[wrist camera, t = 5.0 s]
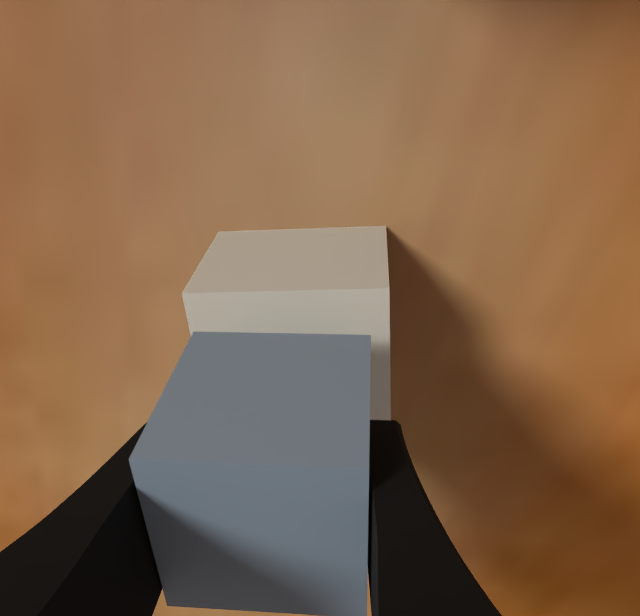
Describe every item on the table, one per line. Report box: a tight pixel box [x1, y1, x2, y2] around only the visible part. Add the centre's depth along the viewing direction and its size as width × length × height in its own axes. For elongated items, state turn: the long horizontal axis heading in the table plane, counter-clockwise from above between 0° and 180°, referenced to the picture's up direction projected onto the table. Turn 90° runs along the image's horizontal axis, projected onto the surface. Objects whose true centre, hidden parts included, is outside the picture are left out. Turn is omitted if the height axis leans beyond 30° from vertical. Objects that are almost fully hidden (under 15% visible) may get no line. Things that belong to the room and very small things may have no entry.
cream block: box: [182, 226, 391, 420], centre depth 17 cm, size 5×5×4 cm
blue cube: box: [129, 332, 371, 616], centre depth 12 cm, size 4×4×4 cm
